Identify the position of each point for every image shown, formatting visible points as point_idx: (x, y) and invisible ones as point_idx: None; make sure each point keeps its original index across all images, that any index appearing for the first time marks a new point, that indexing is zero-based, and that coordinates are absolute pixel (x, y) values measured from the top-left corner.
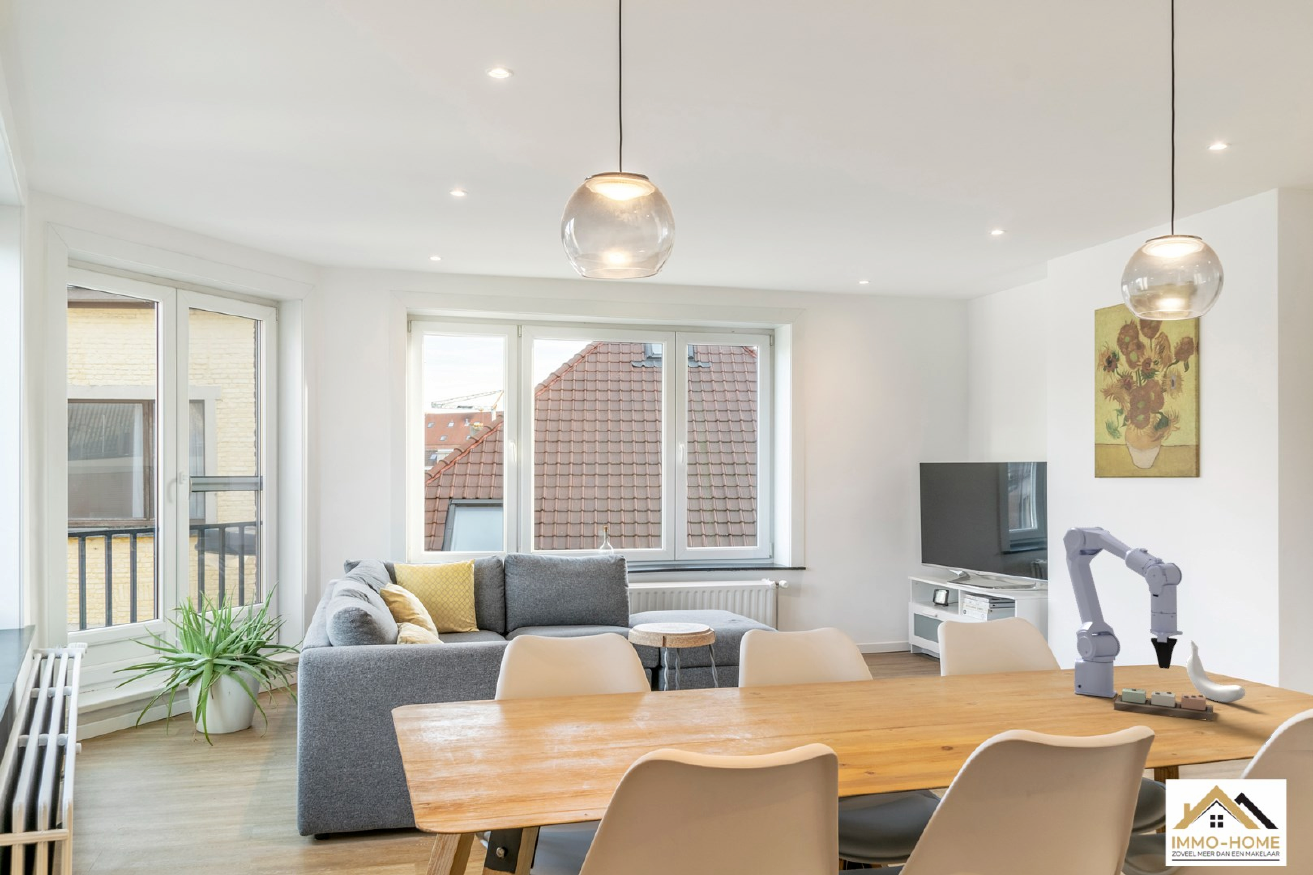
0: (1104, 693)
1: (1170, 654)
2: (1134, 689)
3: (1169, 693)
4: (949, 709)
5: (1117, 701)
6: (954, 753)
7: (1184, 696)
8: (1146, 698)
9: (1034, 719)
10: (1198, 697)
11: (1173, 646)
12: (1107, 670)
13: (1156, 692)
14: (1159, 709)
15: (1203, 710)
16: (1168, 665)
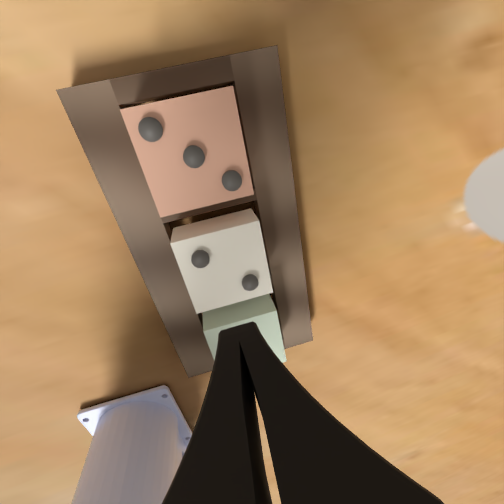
0: (164, 408)
1: (311, 397)
2: None
3: (208, 254)
4: (468, 445)
5: (288, 342)
6: None
7: (240, 186)
8: (173, 317)
9: (488, 364)
10: (182, 134)
11: (403, 477)
12: (146, 484)
13: (245, 288)
14: (298, 236)
15: None
16: (262, 336)
